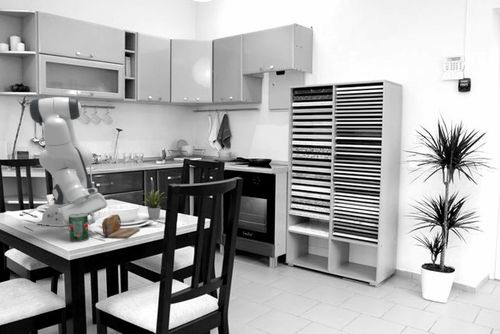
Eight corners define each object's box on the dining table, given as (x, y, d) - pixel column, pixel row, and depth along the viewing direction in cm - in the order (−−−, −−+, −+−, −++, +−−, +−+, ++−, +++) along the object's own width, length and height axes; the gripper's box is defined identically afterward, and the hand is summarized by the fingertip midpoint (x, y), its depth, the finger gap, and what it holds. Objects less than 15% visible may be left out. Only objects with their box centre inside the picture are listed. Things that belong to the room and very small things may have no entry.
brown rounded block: (108, 238, 196) (107, 219, 195) (101, 237, 196) (100, 219, 196) (121, 230, 211) (121, 212, 210) (115, 229, 211) (114, 212, 211)
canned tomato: (91, 239, 194) (90, 214, 193) (74, 242, 188) (72, 217, 187) (84, 235, 200) (83, 212, 198) (67, 239, 194) (65, 215, 193)
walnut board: (107, 238, 196) (107, 235, 196) (121, 230, 211) (121, 228, 211) (126, 238, 195) (126, 236, 195) (139, 230, 210) (139, 228, 209)
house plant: (147, 223, 226) (146, 191, 224) (134, 218, 236) (133, 189, 234) (171, 218, 235) (170, 188, 234) (157, 215, 245) (156, 186, 244)
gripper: (56, 204, 192) (71, 230, 190) (99, 186, 205) (113, 211, 202) (55, 209, 197) (69, 235, 195) (97, 192, 209) (111, 216, 207)
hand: (92, 223), depth 199 cm, fingers closed
